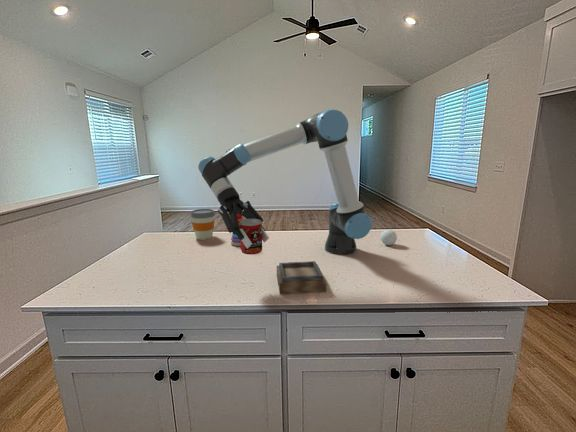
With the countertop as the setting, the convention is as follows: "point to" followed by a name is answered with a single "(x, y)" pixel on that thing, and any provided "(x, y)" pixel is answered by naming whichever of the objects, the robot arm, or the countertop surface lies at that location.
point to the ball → (388, 237)
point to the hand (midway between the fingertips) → (258, 243)
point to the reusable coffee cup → (203, 223)
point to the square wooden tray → (300, 278)
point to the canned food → (252, 235)
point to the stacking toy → (235, 238)
